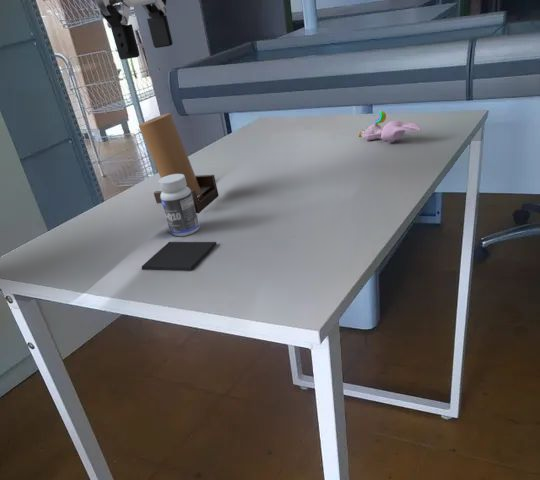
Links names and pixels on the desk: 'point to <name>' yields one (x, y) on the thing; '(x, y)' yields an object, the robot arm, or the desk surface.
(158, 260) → the coaster
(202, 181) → the roll stand
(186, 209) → the pill bottle
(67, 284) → the desk surface
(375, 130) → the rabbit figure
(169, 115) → the paper roll
